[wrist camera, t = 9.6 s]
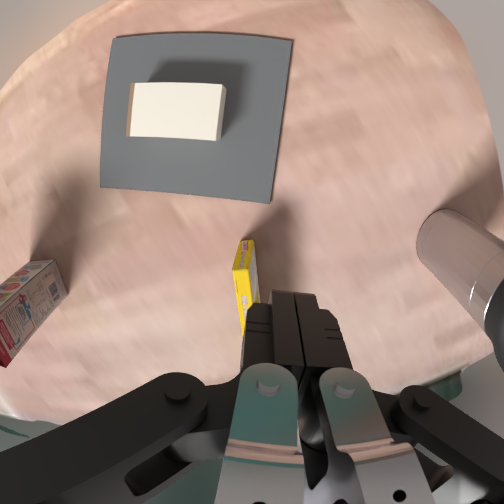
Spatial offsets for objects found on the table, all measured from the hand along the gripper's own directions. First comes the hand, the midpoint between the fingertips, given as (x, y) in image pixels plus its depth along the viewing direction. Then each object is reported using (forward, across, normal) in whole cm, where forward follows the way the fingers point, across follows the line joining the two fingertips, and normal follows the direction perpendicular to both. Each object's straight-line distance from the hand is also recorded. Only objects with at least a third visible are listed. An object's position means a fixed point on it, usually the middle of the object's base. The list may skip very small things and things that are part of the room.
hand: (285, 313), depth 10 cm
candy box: (+27, 0, +16) cm, 32 cm away
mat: (+27, +10, -7) cm, 30 cm away
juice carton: (+27, +34, +19) cm, 48 cm away
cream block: (+24, +6, -7) cm, 26 cm away
